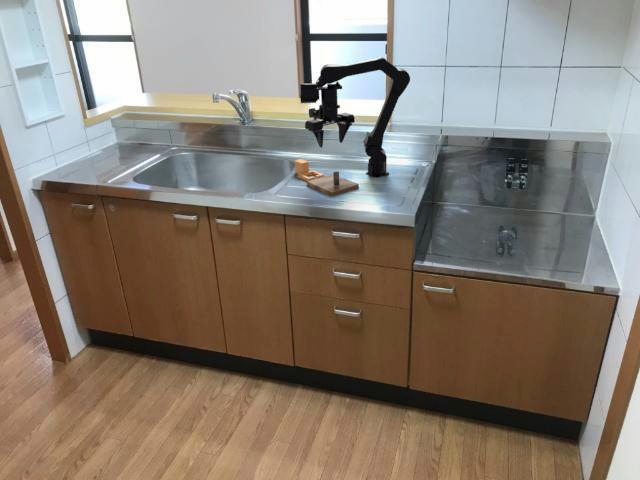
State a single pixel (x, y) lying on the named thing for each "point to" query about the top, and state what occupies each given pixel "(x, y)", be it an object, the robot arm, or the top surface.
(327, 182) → the post stand
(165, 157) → the top surface
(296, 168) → the ring link
